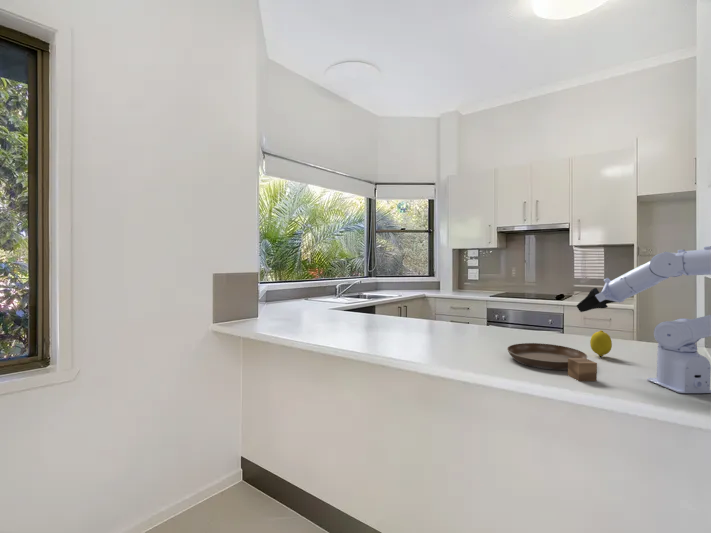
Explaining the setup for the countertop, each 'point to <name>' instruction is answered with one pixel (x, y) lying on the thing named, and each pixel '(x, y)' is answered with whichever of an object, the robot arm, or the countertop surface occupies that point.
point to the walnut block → (582, 369)
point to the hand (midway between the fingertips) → (585, 306)
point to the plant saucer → (544, 355)
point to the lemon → (601, 343)
